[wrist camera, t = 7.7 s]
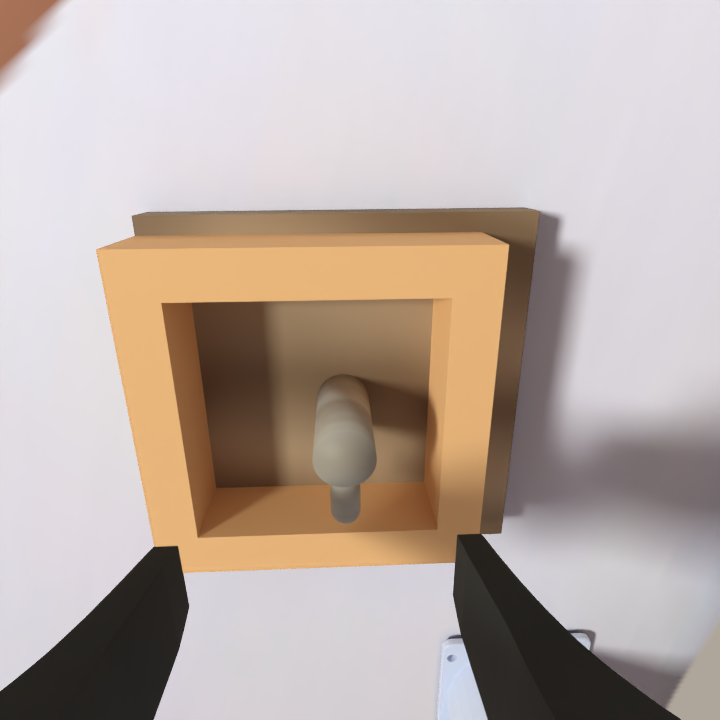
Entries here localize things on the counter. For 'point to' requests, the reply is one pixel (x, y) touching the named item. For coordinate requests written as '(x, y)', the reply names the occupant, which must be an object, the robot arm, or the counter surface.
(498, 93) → the counter surface
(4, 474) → the counter surface
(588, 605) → the counter surface
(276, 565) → the wooden square frame
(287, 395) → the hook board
